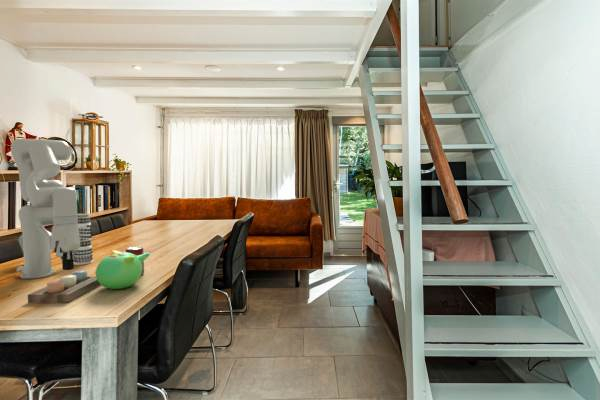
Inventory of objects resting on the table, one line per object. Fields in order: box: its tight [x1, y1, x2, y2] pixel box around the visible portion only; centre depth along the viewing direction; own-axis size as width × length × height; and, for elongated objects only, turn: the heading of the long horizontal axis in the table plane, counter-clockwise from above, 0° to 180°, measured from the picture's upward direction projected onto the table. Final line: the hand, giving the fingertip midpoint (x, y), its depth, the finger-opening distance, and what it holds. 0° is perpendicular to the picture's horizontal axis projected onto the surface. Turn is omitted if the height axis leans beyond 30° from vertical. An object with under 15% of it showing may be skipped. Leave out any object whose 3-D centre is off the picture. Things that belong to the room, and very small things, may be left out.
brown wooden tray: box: [27, 275, 102, 304], centre depth 132 cm, size 14×22×3 cm, turn 1°
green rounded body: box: [95, 249, 151, 290], centre depth 137 cm, size 18×17×15 cm
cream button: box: [59, 274, 77, 287], centre depth 132 cm, size 5×5×4 cm
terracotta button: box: [46, 279, 64, 294], centre depth 125 cm, size 5×5×4 cm
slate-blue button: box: [71, 269, 88, 282], centre depth 138 cm, size 5×5×4 cm
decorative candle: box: [73, 213, 94, 266], centre depth 178 cm, size 9×9×25 cm
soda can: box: [124, 246, 145, 276], centre depth 155 cm, size 7×7×12 cm
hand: (68, 269), depth 131 cm, fingers closed
